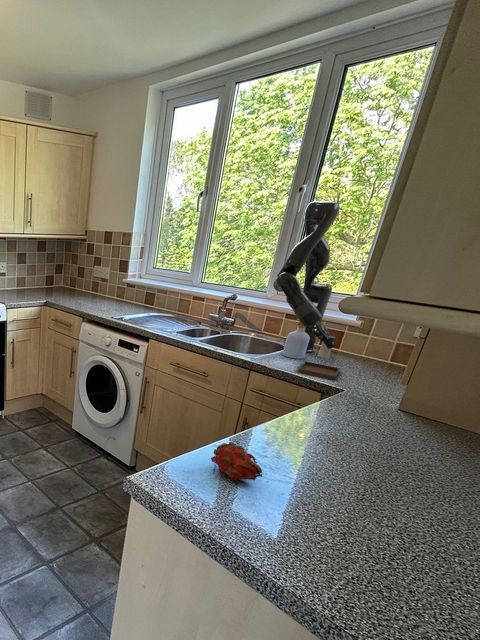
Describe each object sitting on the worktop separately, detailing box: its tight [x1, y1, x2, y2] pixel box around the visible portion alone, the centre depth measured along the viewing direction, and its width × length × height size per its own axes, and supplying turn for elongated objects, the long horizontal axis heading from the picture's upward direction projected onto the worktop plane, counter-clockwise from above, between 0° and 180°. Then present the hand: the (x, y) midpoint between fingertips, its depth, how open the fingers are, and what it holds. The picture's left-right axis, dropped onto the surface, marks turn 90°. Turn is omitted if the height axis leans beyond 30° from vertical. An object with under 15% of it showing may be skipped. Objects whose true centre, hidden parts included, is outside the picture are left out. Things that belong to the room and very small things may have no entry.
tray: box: [297, 360, 341, 381], centre depth 175 cm, size 15×13×2 cm
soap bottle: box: [282, 318, 310, 360], centre depth 192 cm, size 9×9×25 cm
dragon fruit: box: [210, 442, 263, 484], centre depth 96 cm, size 8×8×12 cm
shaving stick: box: [317, 335, 337, 359], centre depth 171 cm, size 4×4×9 cm
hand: (332, 346), depth 170 cm, fingers closed on shaving stick, 4 cm apart
